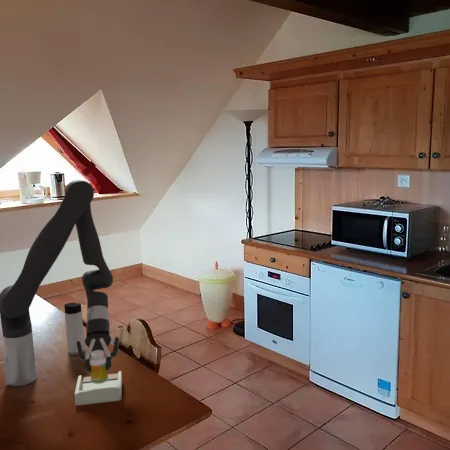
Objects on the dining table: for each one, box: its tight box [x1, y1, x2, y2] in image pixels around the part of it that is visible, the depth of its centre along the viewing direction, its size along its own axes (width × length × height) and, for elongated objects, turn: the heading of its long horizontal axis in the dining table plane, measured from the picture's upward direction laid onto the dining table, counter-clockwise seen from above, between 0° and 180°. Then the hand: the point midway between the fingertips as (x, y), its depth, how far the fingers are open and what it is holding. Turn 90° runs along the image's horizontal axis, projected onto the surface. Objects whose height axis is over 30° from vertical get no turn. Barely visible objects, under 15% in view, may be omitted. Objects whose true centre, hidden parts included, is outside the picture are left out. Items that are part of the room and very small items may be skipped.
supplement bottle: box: [90, 350, 109, 384], centre depth 156 cm, size 5×5×10 cm
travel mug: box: [64, 302, 86, 356], centre depth 187 cm, size 6×7×20 cm
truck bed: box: [74, 370, 123, 406], centre depth 159 cm, size 14×17×4 cm
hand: (98, 370), depth 155 cm, fingers closed on supplement bottle, 5 cm apart
